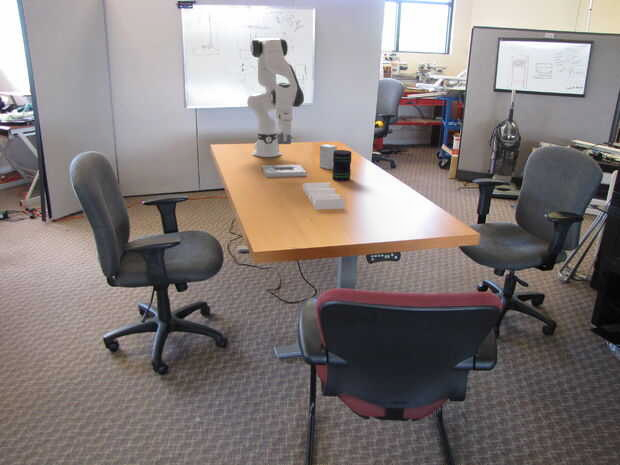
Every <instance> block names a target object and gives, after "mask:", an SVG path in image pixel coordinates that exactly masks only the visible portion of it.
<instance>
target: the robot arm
mask: <svg viewBox="0 0 620 465" xmlns="http://www.w3.org/2000/svg"><path fill="white" fill-rule="evenodd" d="M249 48H250V53H251V55H252V56H253V57H254V58H258V59H257V81H258V84H259V85H260V86H261V87H262V88H265V92H258V93H253V94H250V95H249V96H248V98H247V101H246V102H247V103H246V104H247V107H248V109H250V111H252V113H254V115H255V117H256V120H257V124H258V125H257V126H258V134H257V141H256V143H254V148H255V149H254V150H253V152H252V155H253V156H256V157H261V158H273V157H274V158H275V157H278V156H282V155H283V153H282V152H280V144H278V143H277V138H275V136H277V134H278V133H277V129H278V130H279V131H280V134H283V141H286V140H287V134H290V135H291V130H292V129H291V128H292V120H293V107H295V108H299V107H300V106H301V105H303V103H304V100H305V96H304V92H303V89H302V87H301V86H300V84H299V81H298V79H297V76H296V73H295V71H294V70H295V69H294V68H293V66H292V65H291V64H290V63H289V61H287V60H286V58H285V57H286V56H287V54H288V50H289V49H288V48H289V46H288V42H287V40H286V39H283V38H277V37H276V38H275V37H274V38H273V37H268V38H267V37H266V38H254V39H253V40H252V41H251V42H250V47H249ZM277 75H279V76H282V77H284V78H285V79H287V81H288V83H287V82H279V83H277ZM272 111H273V112H274V111H275V118H276V119H277V121H276V120H275V118H274V117H272V116H270V115H269V112H272Z"/></svg>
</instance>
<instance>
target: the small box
mask: <svg viewBox="0 0 620 465" xmlns="http://www.w3.org/2000/svg"><path fill="white" fill-rule="evenodd" d="M336 150H338V146H336V145H332V144H328V143H327V144H320V145H319V168H323V169H326V170H333V163H334V162H333V154H334V151H336Z"/></svg>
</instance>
